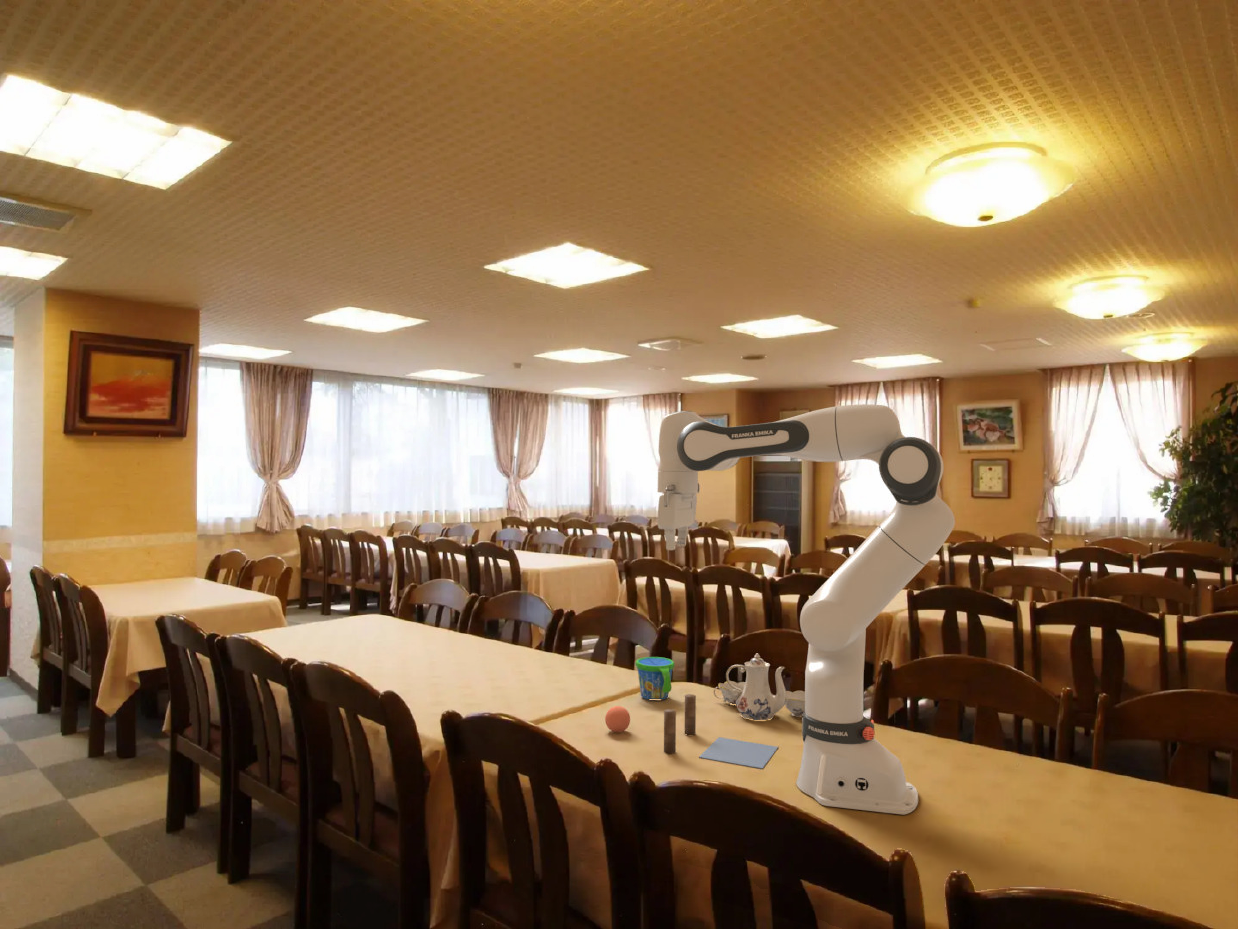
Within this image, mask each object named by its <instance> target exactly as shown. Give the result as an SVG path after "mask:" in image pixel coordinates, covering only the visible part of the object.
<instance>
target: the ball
mask: <svg viewBox="0 0 1238 929" xmlns="http://www.w3.org/2000/svg"><path fill="white" fill-rule="evenodd" d="M604 722H605V724H606V726H607V728H608V729H609V730H610V731H612V732H613V733H622V732H624V731H626V730H627V729H628V728H629V726H630V723H631V716H630V712H629V711H628V709H626V708H625V707H623V706H620V705H615V706H612V707H611V708H609V709H608V710H607V712H606V714H605V717H604Z"/></svg>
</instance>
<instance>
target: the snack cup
mask: <svg viewBox="0 0 1238 929" xmlns="http://www.w3.org/2000/svg"><path fill="white" fill-rule="evenodd" d="M635 666H636V669H637V674H638V682H639V689H640V690H639V692H640V696H641V698H643V699H645V700H647V699H664V700H666V699H667V697H668V698H669V693H670V692H671V691H672V687H673V686H672V682H671V680H672V674H673V673H672V672H673V669H674V668H675V662H674V660H672V659H671V658H666V657H662V656H661V657H660V656H646V657H645V656H644V657H641V658H638V659H636V661H635ZM665 698H666V699H665Z"/></svg>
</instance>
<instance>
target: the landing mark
mask: <svg viewBox="0 0 1238 929" xmlns="http://www.w3.org/2000/svg"><path fill="white" fill-rule="evenodd" d="M777 748H778V749H779V746H776V745H769V744H763V743H759V742H758V743H757V742H751V741H745V740H744V741H743V740H739V739H732V738H726V737H719V736H718V737H717V738H716V739H715V740H714V741H713V742H712V743H711V744H710V745H709V746H708V747H707V748H706V749H705V750H704V751H703V752H702V753H701V754H700V755H699V756H698V758H699V759H703V760H704V759H705V760H710V761H714V762H721V763H726V764H731V765H738V766H743V767H748V768H754V769H760V770H763V769H764V768H765V767H766V765H767V764H768V762H769V761H770V760H771V758H772V757H773V755H774V754H775V753H776V751H777V750H778V749H777Z"/></svg>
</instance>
